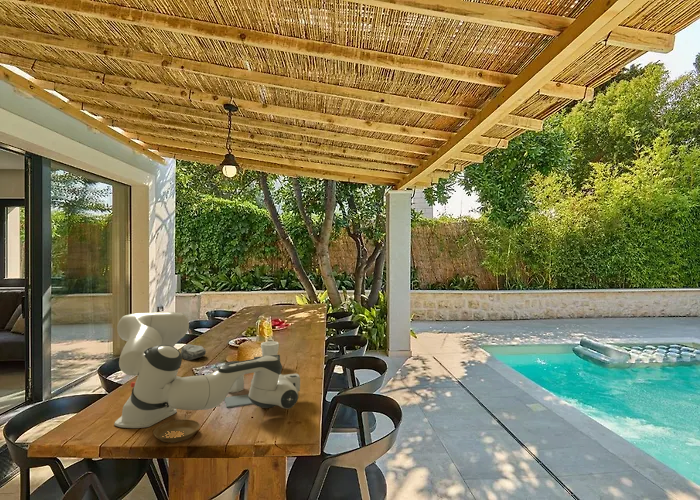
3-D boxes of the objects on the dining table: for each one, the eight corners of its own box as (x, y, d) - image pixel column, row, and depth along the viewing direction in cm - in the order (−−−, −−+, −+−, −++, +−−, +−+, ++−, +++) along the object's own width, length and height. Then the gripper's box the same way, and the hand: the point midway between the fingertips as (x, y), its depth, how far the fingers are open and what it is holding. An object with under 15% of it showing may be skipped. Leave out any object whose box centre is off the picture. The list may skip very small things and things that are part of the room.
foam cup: (266, 370, 218) (266, 346, 218) (257, 366, 225) (257, 343, 225) (281, 367, 225) (281, 343, 225) (272, 363, 232) (273, 340, 232)
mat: (254, 404, 171) (254, 402, 171) (227, 407, 167) (227, 406, 167) (250, 395, 181) (250, 394, 181) (223, 398, 177) (224, 397, 177)
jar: (246, 386, 193) (246, 360, 193) (241, 392, 185) (241, 365, 185) (226, 386, 193) (227, 360, 193) (221, 392, 185) (221, 365, 185)
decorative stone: (205, 355, 238) (199, 338, 238) (182, 365, 234) (175, 348, 235) (208, 353, 252) (202, 338, 252) (186, 363, 248) (180, 347, 249)
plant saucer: (198, 442, 137) (198, 434, 137) (149, 448, 133) (149, 440, 133) (201, 424, 151) (201, 417, 151) (157, 429, 147) (157, 422, 147)
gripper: (253, 397, 164) (248, 386, 177) (303, 390, 173) (294, 381, 185) (253, 381, 164) (248, 372, 177) (303, 375, 173) (294, 367, 185)
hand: (272, 376), depth 181 cm, fingers closed on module, 5 cm apart
